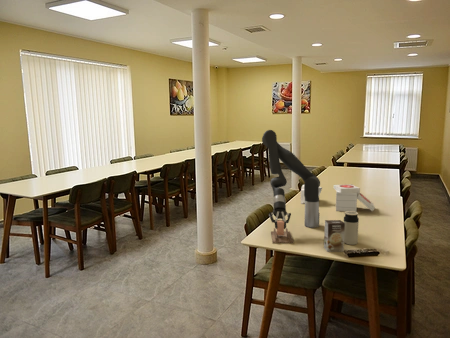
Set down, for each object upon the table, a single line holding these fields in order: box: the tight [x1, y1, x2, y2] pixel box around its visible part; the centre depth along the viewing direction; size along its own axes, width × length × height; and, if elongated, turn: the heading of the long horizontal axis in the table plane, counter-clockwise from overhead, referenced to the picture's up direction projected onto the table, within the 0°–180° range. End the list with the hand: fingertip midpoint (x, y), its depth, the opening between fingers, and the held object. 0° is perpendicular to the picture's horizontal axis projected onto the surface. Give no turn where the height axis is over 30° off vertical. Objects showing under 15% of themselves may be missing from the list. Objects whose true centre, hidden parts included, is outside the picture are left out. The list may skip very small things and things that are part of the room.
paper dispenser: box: [333, 184, 376, 213], centre depth 269 cm, size 19×30×18 cm, turn 73°
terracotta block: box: [276, 219, 285, 235], centre depth 210 cm, size 4×4×8 cm
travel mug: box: [343, 211, 360, 246], centre depth 200 cm, size 8×8×18 cm
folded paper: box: [300, 184, 323, 205], centre depth 296 cm, size 17×24×17 cm
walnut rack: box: [270, 227, 294, 244], centre depth 211 cm, size 12×18×3 cm, turn 176°
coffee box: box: [323, 219, 345, 253], centre depth 190 cm, size 9×6×16 cm
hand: (280, 228), depth 208 cm, fingers closed on terracotta block, 4 cm apart
